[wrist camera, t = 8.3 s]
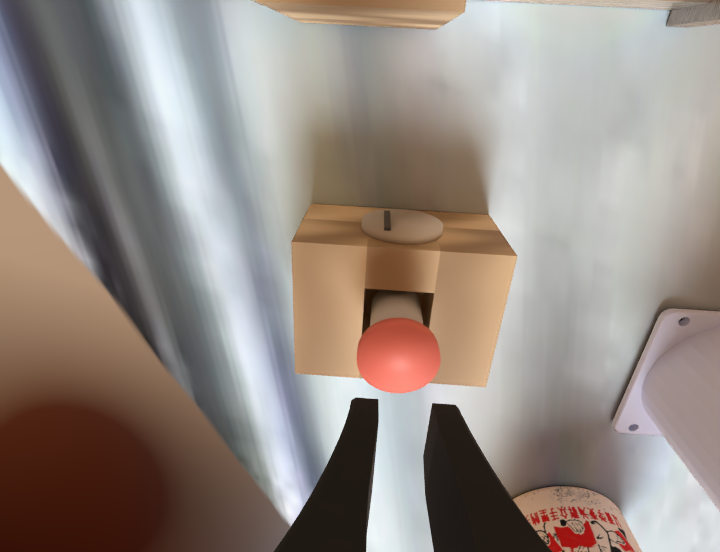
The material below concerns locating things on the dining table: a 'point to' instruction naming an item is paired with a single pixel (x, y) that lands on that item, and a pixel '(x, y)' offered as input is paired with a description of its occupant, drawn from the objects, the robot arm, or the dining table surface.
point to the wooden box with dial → (399, 284)
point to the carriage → (371, 12)
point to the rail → (687, 4)
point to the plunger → (397, 344)
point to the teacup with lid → (576, 520)
